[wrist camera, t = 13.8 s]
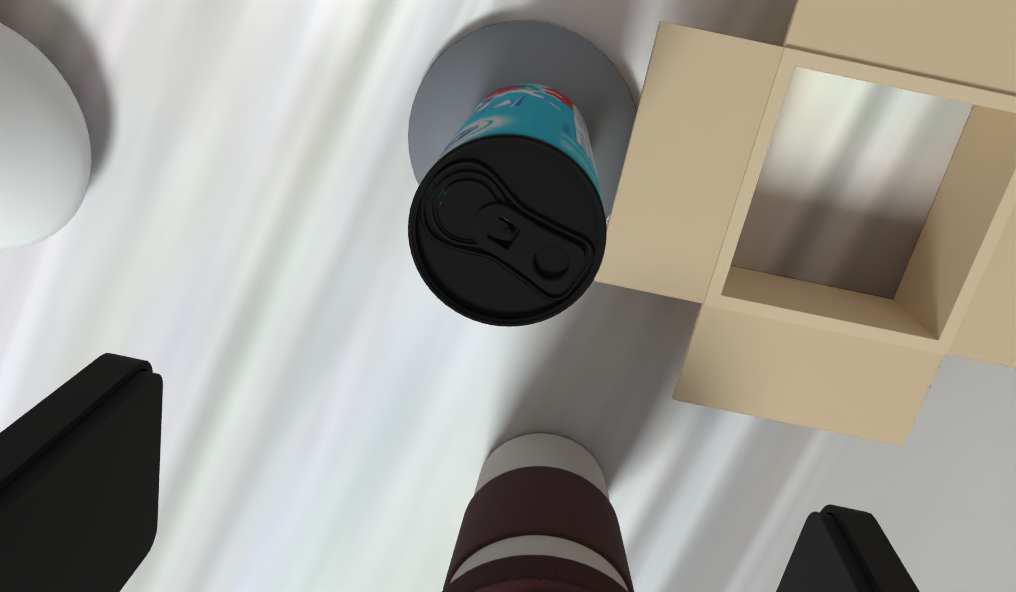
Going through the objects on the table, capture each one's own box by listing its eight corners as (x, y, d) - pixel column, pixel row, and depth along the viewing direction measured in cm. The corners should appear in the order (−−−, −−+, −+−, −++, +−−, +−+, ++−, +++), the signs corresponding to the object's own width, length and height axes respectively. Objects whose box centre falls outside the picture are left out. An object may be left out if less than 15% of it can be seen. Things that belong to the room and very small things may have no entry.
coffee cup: (503, 574, 47) (481, 820, 33) (425, 447, 44) (364, 657, 30) (655, 519, 45) (700, 756, 31) (584, 381, 42) (598, 574, 28)
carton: (1153, -1, 34) (1249, -1, 29) (955, 416, 41) (1006, 469, 37) (677, -104, 33) (697, -120, 29) (567, 336, 41) (569, 379, 36)
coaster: (664, 47, 35) (666, 48, 35) (606, 269, 39) (607, 272, 39) (429, -2, 35) (427, -2, 35) (395, 225, 39) (393, 228, 39)
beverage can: (523, 52, 35) (499, 90, 21) (615, 142, 36) (649, 232, 23) (439, 147, 37) (366, 238, 23) (529, 229, 38) (512, 363, 24)
